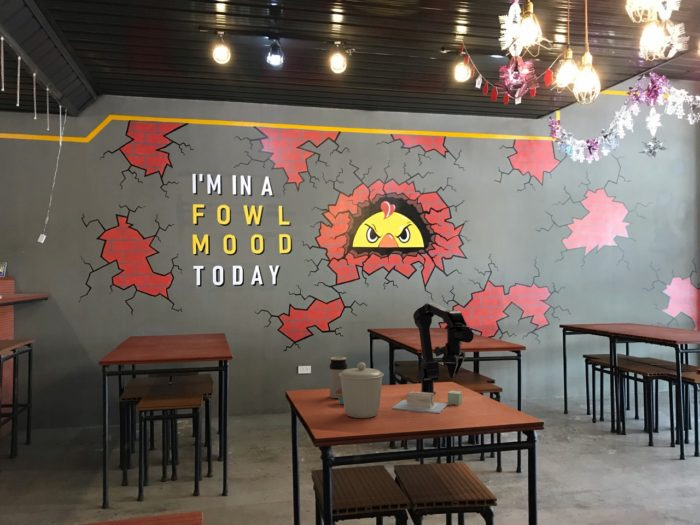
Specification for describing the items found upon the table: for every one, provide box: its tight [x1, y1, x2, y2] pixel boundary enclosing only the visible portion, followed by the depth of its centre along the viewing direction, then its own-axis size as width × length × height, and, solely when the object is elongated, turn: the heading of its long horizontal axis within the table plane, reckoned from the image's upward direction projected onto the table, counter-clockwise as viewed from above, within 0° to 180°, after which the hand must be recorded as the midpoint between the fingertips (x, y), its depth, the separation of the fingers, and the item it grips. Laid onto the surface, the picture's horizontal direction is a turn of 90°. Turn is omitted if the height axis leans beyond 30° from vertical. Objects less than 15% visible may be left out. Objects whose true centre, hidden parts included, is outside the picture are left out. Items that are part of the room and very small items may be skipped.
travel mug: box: [329, 356, 348, 399], centre depth 254 cm, size 8×8×18 cm
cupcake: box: [336, 387, 344, 405], centre depth 242 cm, size 9×8×12 cm
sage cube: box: [447, 390, 463, 406], centre depth 241 cm, size 5×5×5 cm
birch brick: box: [406, 391, 435, 408], centre depth 235 cm, size 6×10×5 cm, turn 69°
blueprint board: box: [391, 399, 449, 414], centre depth 235 cm, size 16×20×1 cm
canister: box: [339, 361, 385, 419], centre depth 222 cm, size 18×18×21 cm
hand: (454, 376), depth 241 cm, fingers open, 9 cm apart
